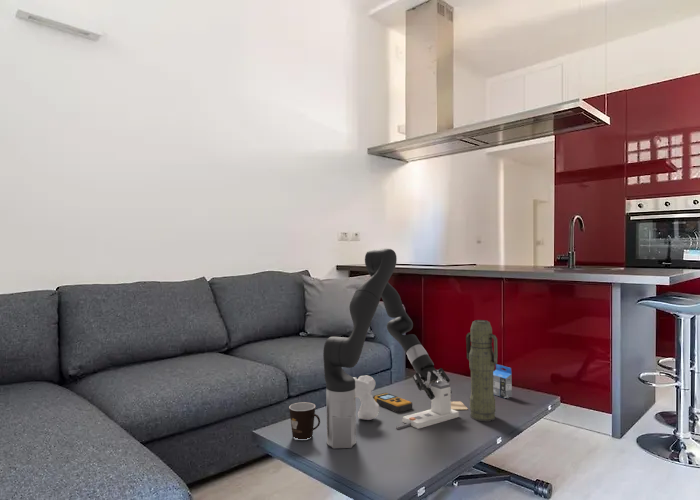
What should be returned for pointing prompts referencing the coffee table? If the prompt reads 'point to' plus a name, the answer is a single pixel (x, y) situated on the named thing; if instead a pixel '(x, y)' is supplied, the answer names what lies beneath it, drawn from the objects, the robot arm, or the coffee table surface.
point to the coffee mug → (303, 419)
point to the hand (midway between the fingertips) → (441, 396)
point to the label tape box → (502, 381)
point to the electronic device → (392, 402)
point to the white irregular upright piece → (366, 397)
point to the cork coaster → (458, 405)
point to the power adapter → (441, 398)
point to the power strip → (426, 419)
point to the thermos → (481, 369)
